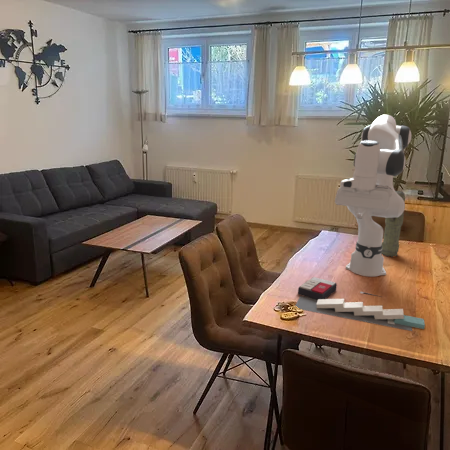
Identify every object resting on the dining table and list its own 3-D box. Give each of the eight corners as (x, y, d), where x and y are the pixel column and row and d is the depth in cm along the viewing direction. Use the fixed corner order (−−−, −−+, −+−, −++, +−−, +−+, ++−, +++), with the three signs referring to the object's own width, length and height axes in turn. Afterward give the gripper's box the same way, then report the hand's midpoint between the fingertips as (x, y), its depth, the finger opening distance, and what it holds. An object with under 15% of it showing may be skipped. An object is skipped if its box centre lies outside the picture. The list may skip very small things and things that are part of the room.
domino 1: (316, 304, 162) (342, 303, 158) (318, 299, 166) (344, 298, 163) (316, 308, 162) (343, 307, 158) (318, 303, 167) (344, 302, 163)
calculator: (298, 285, 173) (313, 275, 185) (297, 295, 174) (312, 284, 186) (323, 292, 167) (337, 281, 179) (322, 302, 168) (336, 290, 180)
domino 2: (334, 307, 160) (362, 307, 156) (336, 302, 164) (362, 301, 160) (335, 311, 160) (362, 311, 156) (336, 306, 164) (363, 305, 161)
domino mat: (299, 297, 173) (299, 295, 172) (410, 318, 159) (410, 316, 159) (294, 309, 162) (294, 307, 162) (412, 333, 148) (412, 330, 148)
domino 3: (353, 311, 157) (382, 311, 154) (354, 306, 162) (382, 305, 158) (354, 315, 158) (382, 315, 154) (355, 309, 162) (382, 309, 158)
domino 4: (374, 315, 155) (403, 314, 151) (374, 309, 160) (403, 308, 156) (374, 319, 155) (404, 318, 151) (375, 313, 160) (403, 312, 156)
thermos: (398, 252, 235) (408, 191, 226) (396, 258, 225) (406, 194, 216) (381, 249, 239) (390, 189, 230) (379, 255, 229) (388, 192, 220)
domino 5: (394, 319, 153) (424, 325, 149) (394, 313, 157) (423, 319, 154) (394, 322, 153) (424, 329, 150) (393, 317, 158) (422, 322, 154)
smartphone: (395, 308, 167) (395, 306, 167) (356, 299, 175) (356, 296, 174) (398, 302, 173) (398, 300, 173) (360, 293, 181) (360, 291, 180)
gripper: (392, 185, 162) (387, 219, 165) (338, 179, 168) (334, 213, 172) (393, 187, 156) (387, 223, 159) (336, 182, 162) (332, 216, 166)
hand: (359, 218), depth 166 cm, fingers closed
